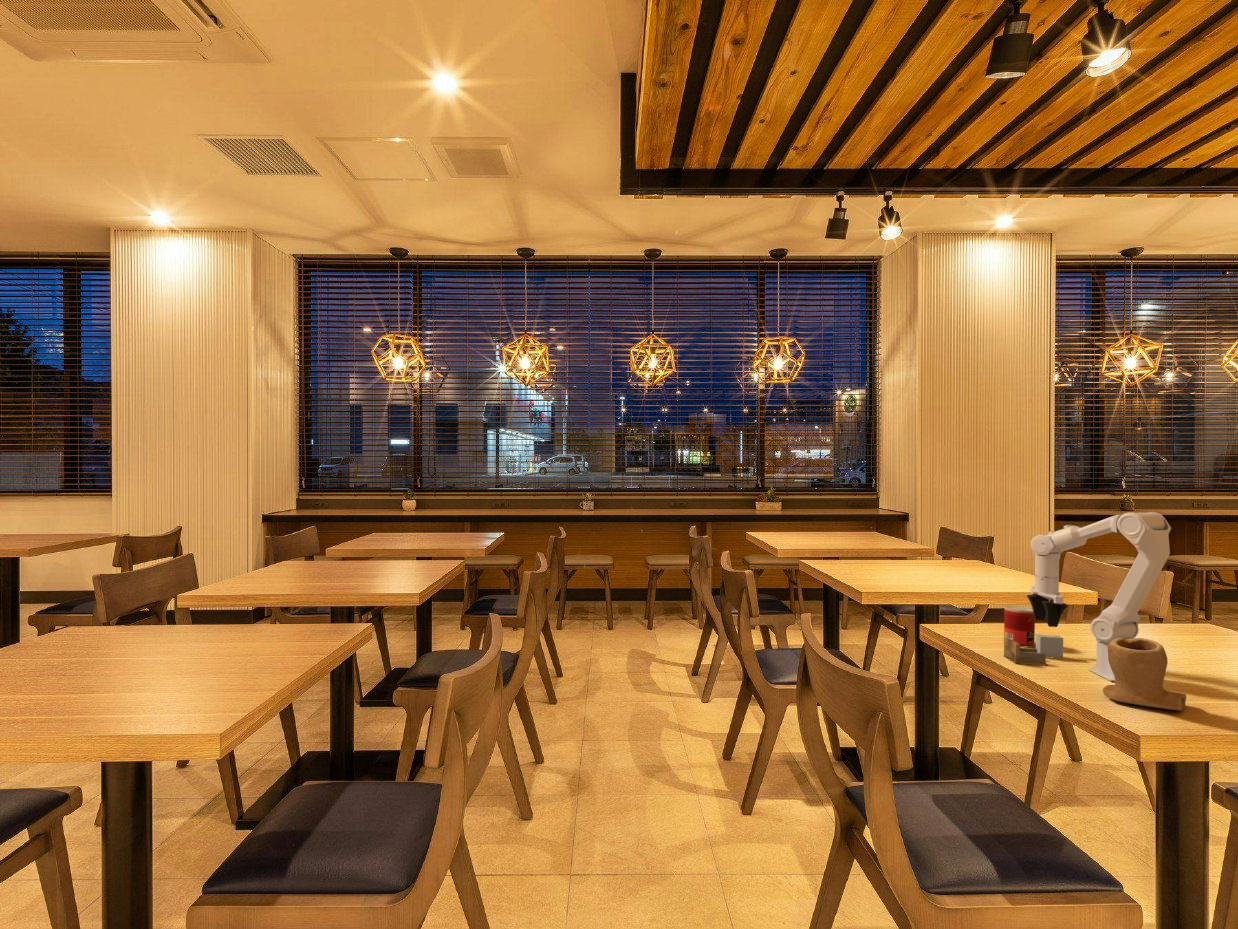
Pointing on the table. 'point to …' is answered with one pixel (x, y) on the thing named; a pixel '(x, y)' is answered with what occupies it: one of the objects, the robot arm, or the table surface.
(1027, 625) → the canned food
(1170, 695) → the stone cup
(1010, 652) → the grey stepped holder
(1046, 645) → the grey square block
